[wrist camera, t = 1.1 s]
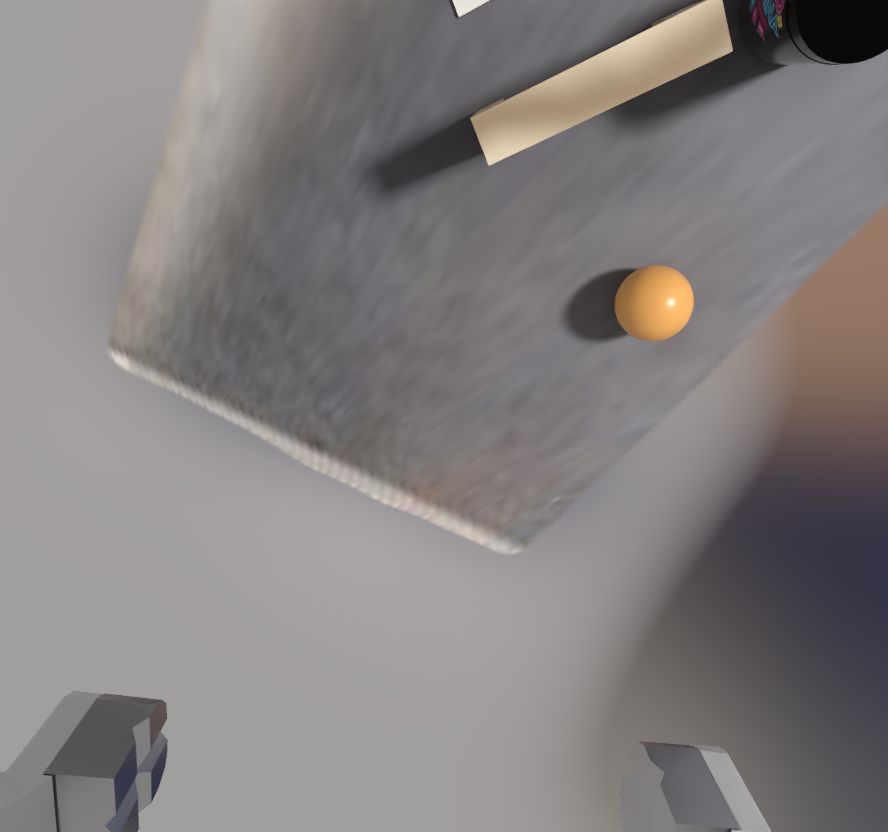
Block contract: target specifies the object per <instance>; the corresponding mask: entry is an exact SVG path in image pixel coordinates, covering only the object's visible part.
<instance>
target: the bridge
mask: <svg viewBox="0 0 888 832" xmlns="http://www.w3.org/2000/svg"><path fill="white" fill-rule="evenodd" d="M732 51H733V48H732V44H731V39H730V34H729V29H728V25H727V20H726V15H725V10H724V6H723V1H722V0H702V1H700V2H697V3H695V4H692V5H690V6H687V7H684V8H682V9H680V10H678V11H676V12H674V13H672V14H670V15H668V16H666V17H664V18H662V19H660V20H658V21H656V22H654V23H652V27H651V28H649V29H647V30H645V31H643V32H641V33H639V34H637V35H635V36H633V37H631V38H629V39H627V40H625V41H623V42H621V43H619V44H617V45H615V46H613V47H611V48H609V49H607V50H605V51H603V52H601V53H599V54H597V55H595V56H593V57H591V58H589V59H587V60H585V61H583V62H581V63H579V64H577V65H575V66H573V67H571V68H569V69H567V70H565V71H563V72H561V73H559V74H557V75H555V76H553V77H551V78H549V79H547V80H545V81H543V82H541V83H539V84H537V85H535V86H533V87H531V88H528V89H526V90H524V91H522V92H520V93H518V94H516V95H514V96H512V97H510V98H508V99H506V100H505V99H504V98H502V99H500V100H498V101H496V102H494V103H492V104H490V105H488V106H486V107H484V108H482V109H480V110H478V111H477V112H476V113H475V114H474V115H473V116H472V117H471V118H470V119H471V122H472V124H473V127H474V129H475V132H476V134H477V137H478V139H479V142H480V145H481V147H482V150H483V152H484V155H485V157H486V160H487V162H488V165H491V164H493V163H496V162H498V161H500V160H502V159H504V158H506V157H508V156H511V155H513V154H515V153H517V152H519V151H521V150H523V149H525V148H528V147H530V146H532V145H534V144H536V143H538V142H540V141H542V140H545V139H547V138H549V137H551V136H553V135H555V134H557V133H560V132H562V131H564V130H566V129H568V128H570V127H572V126H574V125H577V124H579V123H581V122H583V121H585V120H587V119H589V118H592V117H594V116H596V115H598V114H600V113H602V112H604V111H606V110H609V109H611V108H613V107H615V106H617V105H619V104H621V103H624V102H626V101H628V100H630V99H632V98H634V97H636V96H638V95H641V94H643V93H645V92H647V91H649V90H651V89H653V88H656V87H658V86H660V85H662V84H664V83H666V82H668V81H670V80H673V79H675V78H677V77H679V76H681V75H683V74H685V73H688V72H690V71H692V70H694V69H696V68H698V67H700V66H702V65H705V64H707V63H709V62H711V61H713V60H715V59H717V58H719V57H722V56H724V55H726V54H728V53H730V52H732Z"/></svg>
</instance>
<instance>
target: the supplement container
mask: <svg viewBox="0 0 888 832" xmlns="http://www.w3.org/2000/svg"><path fill="white" fill-rule="evenodd" d="M741 31H742V36H743V39H744V41H745V44H746V45H747V47H748V49H749V50H750V51H751V52H752V54H753V55H755V56H756V57H757V58H758V59H760V60H762V61H764V62H766V63H770V64H775V65H794V64H827V65H837V64H850V63H857V62H861V61H865V60H868V59H870V58H873V57H875V56H877V55H879V54H881V53H883V52H884V51H886V50H887V49H888V0H744V2H743V5H742V10H741Z"/></svg>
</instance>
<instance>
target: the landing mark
mask: <svg viewBox="0 0 888 832" xmlns="http://www.w3.org/2000/svg"><path fill="white" fill-rule="evenodd" d="M488 1H490V0H453V3H454V6H455V8H456V11H457V14H458V16H459V17H461V16H463V15H464V14H466V13H468V12H470V11H472V10H473V9H475V8H477V7H479V6H481V5H482V4H484V3H486V2H488Z"/></svg>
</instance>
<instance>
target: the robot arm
mask: <svg viewBox="0 0 888 832" xmlns="http://www.w3.org/2000/svg"><path fill="white" fill-rule="evenodd" d="M166 709H167V708H166V702H164V701H163V700H156V699H148V698H139V697H130V696H121V695H112V694H97V693H88V692H80V691H73V692H71V693H69V694H68V695H66V696H65V697H64V698H63V699H62V701H61V702H60V703H59V704H58V706H57V707H56V708H55V709H54V711H53V712H52V713H51V714H50V716H49V717H48V718H47V720H46V721H45V722H44V724H43V725H42V726H41V727H40V729H39V730H38V731H37V733H36V734H35V735H34V736H33V737H32V739H31V740H30V741H29V743H28V744H27V745H26V747H25V748H24V749H23V750H22V752H21V753H20V754H19V755H18V757H17V758H16V760H15V761H14V762H13V763H12V764H11V766H10V767H9V768H8V770H7V771H6V772H0V832H137V831H138V829H139V822H138V821H139V819H138V818H139V816H138V813H139V812H140V811H141V810H142V809H144V808H145V807H146V806H148V805H149V804H150V803H151V802H152V801H153V798H154V796H155V794H156V792H157V790H158V788H159V785H160V782H161V779H162V775H163V772H164V769H165V764H166V758H167V739H166V737H165V736H164V735H163V734H162V733H161V729H162V727H163V726H164V723H165V722H166V720H167V710H166ZM629 759H630V761H631V764H632V767H633V771H632V772H630V773H629V774H628V775H627V776H625V777H624V779H623V784H622V788H621V792H620V813H621V819H622V825H623V828H624V831H625V832H771V830H770V828H769V827H768V825H767V823H766V821H765V820H764V818H763V816H762V814H761V813H760V811H759V809H758V807H757V805H756V804H755V802H754V800H753V798H752V796H751V795H750V793H749V791H748V789H747V788H746V786H745V785H744V783H743V780H742V779H741V777H740V775H739V773H738V772H737V770H736V768H735V766H734V764H733V763H732V761H731V759H730V757H729V756H728V754H727V752H726V751H724V750H723V749H722V748H721V747H711V746H698V745H692V746H690V745H682V744H668V743H656V742H642V741H637V742H636V743H635V744H634V746H633V747H632V750H631V754H630V757H629Z"/></svg>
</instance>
